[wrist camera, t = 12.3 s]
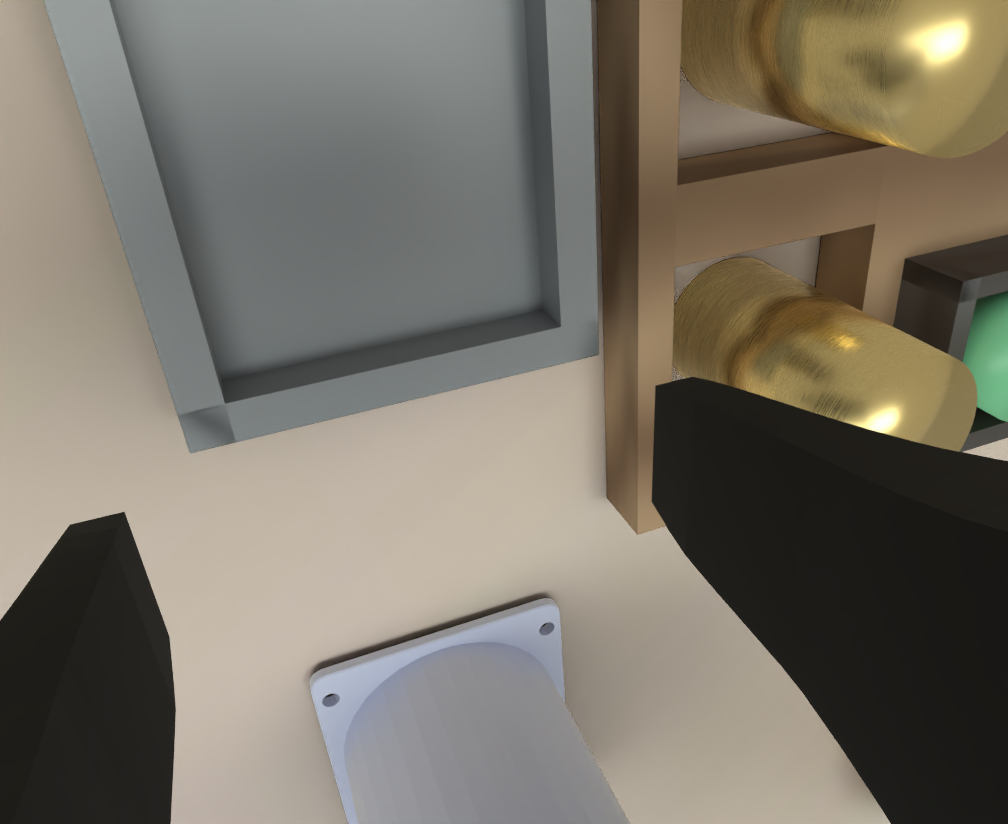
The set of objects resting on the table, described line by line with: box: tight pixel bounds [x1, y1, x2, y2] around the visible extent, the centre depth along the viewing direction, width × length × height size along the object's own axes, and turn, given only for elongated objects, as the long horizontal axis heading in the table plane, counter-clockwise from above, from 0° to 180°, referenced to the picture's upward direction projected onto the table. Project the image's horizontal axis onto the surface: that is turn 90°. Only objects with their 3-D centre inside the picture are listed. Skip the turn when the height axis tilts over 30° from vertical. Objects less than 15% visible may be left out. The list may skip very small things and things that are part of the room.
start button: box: [963, 291, 1008, 422], centre depth 24 cm, size 4×4×2 cm
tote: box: [44, 0, 599, 453], centre depth 17 cm, size 12×10×2 cm
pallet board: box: [597, 0, 1008, 535], centre depth 21 cm, size 18×14×4 cm
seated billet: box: [672, 257, 977, 452], centre depth 21 cm, size 4×4×7 cm
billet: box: [680, 0, 1008, 158], centre depth 17 cm, size 4×4×7 cm
